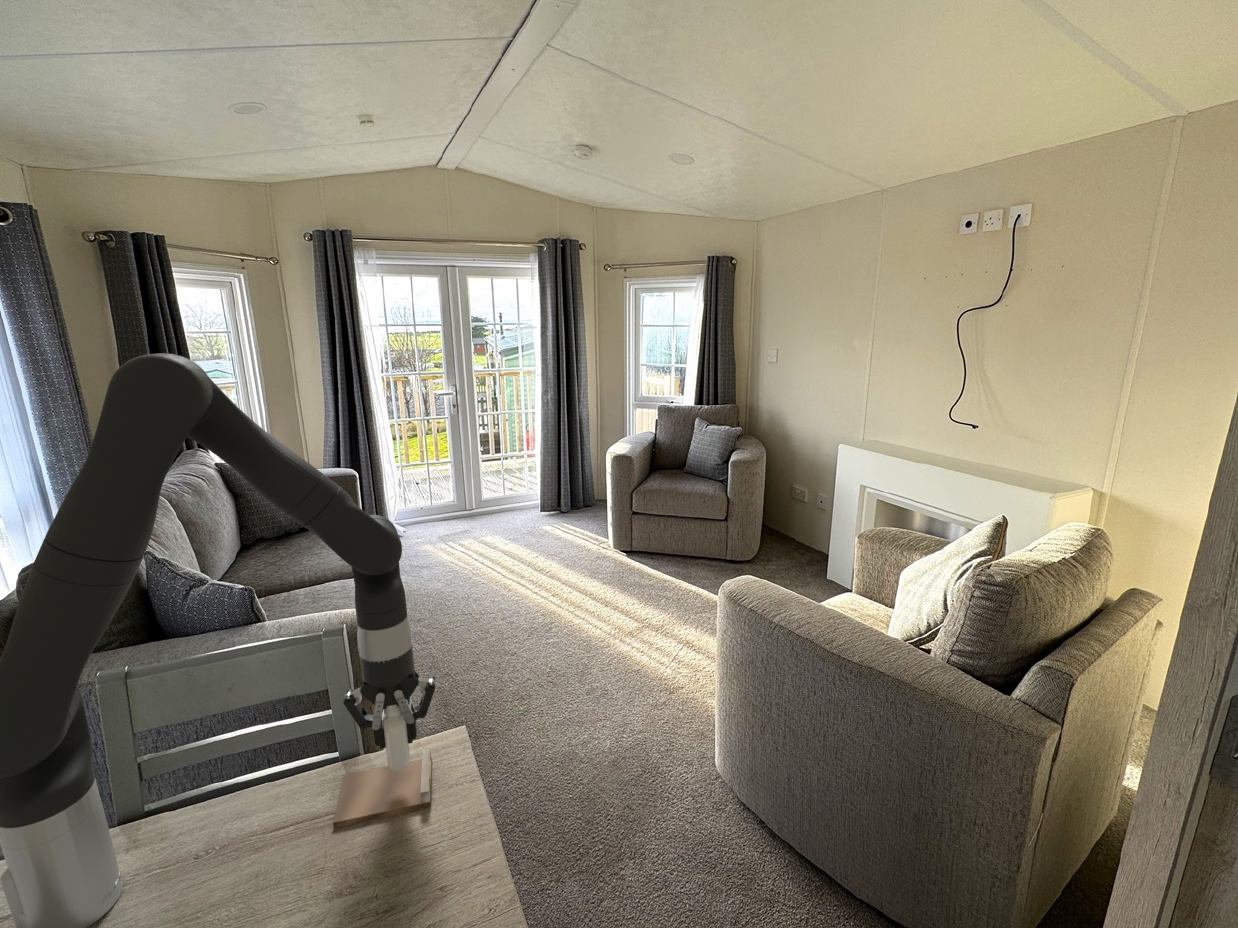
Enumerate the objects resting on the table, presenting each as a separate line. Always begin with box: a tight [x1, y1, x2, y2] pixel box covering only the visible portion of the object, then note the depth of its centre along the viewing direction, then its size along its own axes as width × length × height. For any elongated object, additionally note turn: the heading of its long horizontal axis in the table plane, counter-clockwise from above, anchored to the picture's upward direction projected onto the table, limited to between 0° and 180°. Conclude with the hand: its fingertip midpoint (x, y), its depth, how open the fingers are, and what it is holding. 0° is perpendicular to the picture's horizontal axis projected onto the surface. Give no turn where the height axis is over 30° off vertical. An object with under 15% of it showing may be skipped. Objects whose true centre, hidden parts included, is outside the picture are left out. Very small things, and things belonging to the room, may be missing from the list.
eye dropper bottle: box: [382, 705, 411, 771], centre depth 93 cm, size 4×6×12 cm
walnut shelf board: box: [332, 747, 433, 829], centre depth 95 cm, size 14×10×3 cm
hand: (396, 742), depth 94 cm, fingers closed on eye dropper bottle, 3 cm apart
